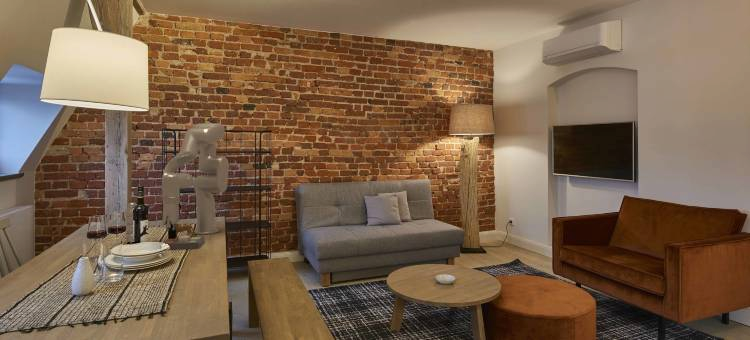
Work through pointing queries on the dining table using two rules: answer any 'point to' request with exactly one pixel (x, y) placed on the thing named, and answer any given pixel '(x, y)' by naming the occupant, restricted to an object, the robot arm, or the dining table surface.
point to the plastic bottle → (129, 222)
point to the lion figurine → (184, 229)
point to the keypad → (185, 244)
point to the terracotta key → (173, 239)
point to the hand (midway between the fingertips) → (172, 238)
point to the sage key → (195, 238)
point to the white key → (184, 238)
